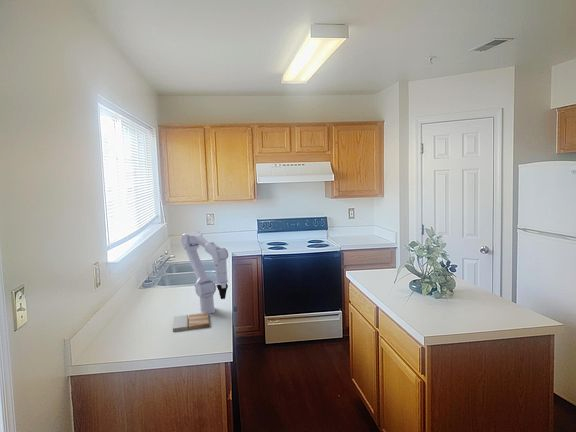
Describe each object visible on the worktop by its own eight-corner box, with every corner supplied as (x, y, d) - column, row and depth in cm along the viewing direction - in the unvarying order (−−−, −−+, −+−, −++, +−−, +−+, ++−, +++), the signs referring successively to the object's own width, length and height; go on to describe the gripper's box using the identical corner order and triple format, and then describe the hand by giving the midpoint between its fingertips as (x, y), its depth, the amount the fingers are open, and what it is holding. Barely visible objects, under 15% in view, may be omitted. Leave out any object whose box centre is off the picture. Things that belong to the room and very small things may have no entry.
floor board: (174, 319, 219) (174, 316, 219) (188, 317, 220) (188, 314, 220) (172, 331, 201) (172, 328, 201) (188, 329, 203) (187, 326, 203)
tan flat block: (188, 317, 220) (188, 314, 220) (207, 315, 222) (207, 312, 222) (188, 329, 203) (188, 326, 203) (209, 326, 205) (209, 323, 205)
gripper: (211, 270, 223) (213, 295, 224) (215, 276, 209) (216, 303, 210) (225, 269, 225) (226, 294, 226) (229, 274, 211) (231, 301, 212)
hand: (222, 298), depth 218 cm, fingers closed
